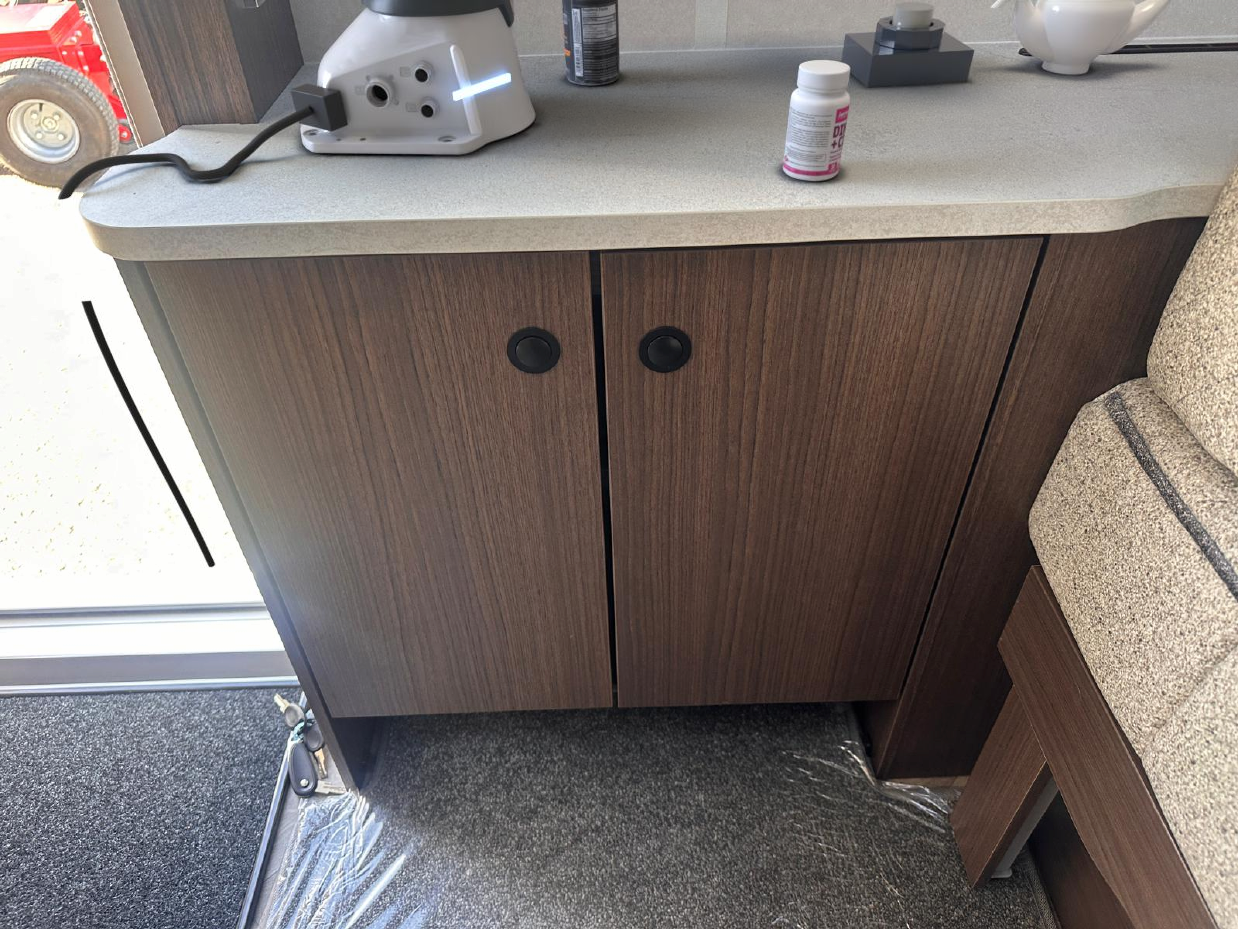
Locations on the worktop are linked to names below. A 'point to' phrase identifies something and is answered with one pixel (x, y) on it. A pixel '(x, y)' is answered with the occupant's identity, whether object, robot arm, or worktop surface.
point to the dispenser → (906, 55)
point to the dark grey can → (591, 41)
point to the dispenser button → (912, 15)
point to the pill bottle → (817, 121)
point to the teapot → (1079, 29)
